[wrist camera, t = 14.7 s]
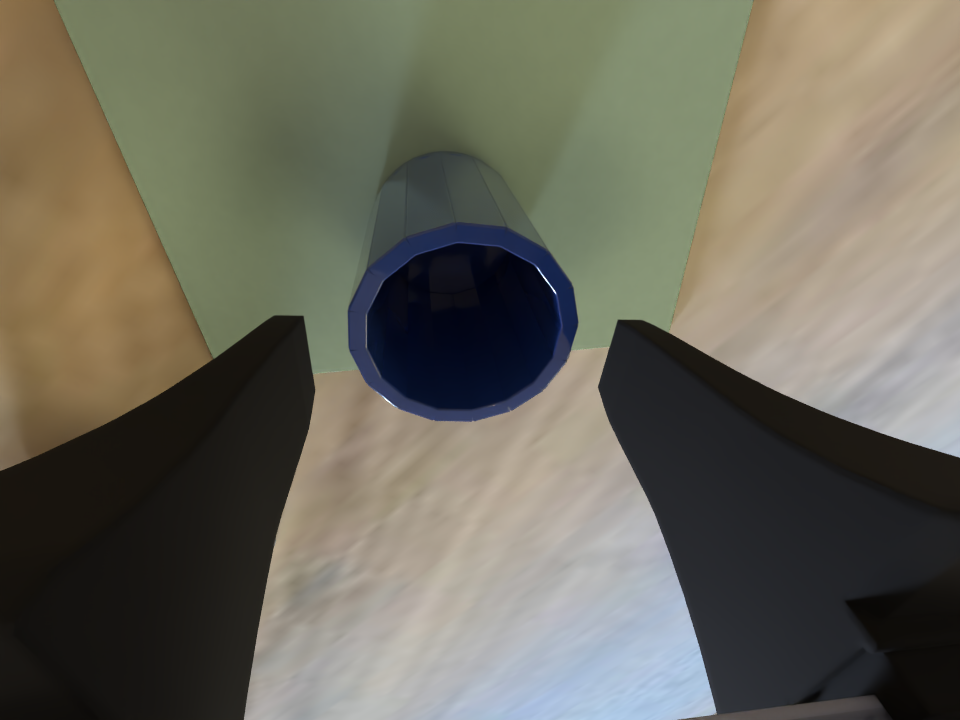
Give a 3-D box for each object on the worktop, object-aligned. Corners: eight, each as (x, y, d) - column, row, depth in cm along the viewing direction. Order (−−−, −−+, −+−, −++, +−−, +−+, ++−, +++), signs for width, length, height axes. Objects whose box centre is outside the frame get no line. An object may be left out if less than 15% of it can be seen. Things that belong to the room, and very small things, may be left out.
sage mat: (226, 376, 20) (223, 382, 20) (61, -1, 12) (51, -2, 12) (662, 337, 22) (666, 342, 21) (750, -16, 14) (758, -17, 14)
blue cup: (402, 311, 19) (397, 443, 13) (346, 177, 16) (304, 267, 10) (531, 274, 19) (589, 390, 12) (501, 129, 15) (560, 191, 9)
